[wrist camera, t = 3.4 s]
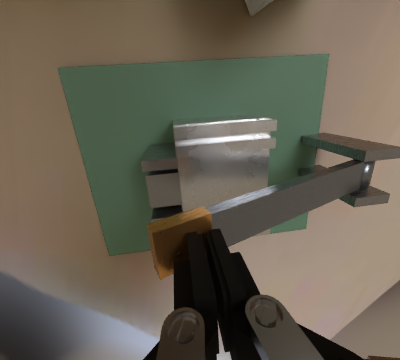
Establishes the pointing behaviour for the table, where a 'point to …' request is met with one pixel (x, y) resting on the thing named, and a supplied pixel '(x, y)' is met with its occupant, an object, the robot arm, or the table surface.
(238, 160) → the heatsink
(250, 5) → the supplement box
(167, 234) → the grey and orange bar
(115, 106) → the pcb board
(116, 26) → the table surface
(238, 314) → the robot arm
